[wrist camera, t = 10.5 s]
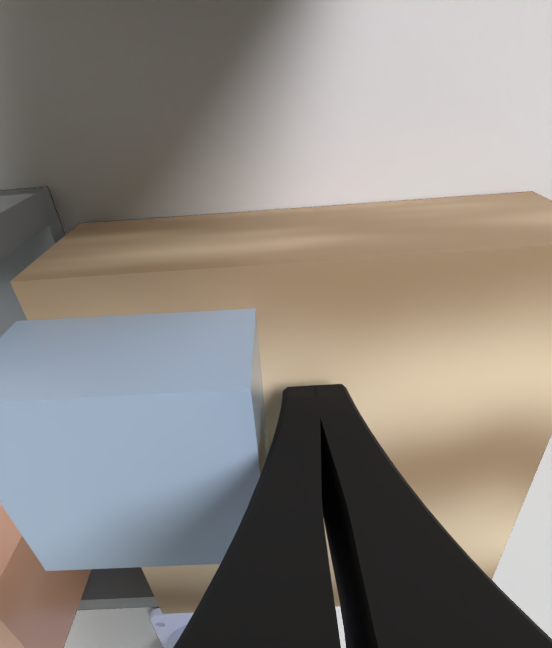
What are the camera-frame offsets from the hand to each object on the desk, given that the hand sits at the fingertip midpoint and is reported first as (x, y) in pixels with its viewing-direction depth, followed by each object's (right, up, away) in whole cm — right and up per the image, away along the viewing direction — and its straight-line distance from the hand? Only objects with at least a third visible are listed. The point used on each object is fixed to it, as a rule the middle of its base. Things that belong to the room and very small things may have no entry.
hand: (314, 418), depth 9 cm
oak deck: (0, -1, +5) cm, 5 cm away
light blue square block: (-4, 0, +1) cm, 4 cm away
